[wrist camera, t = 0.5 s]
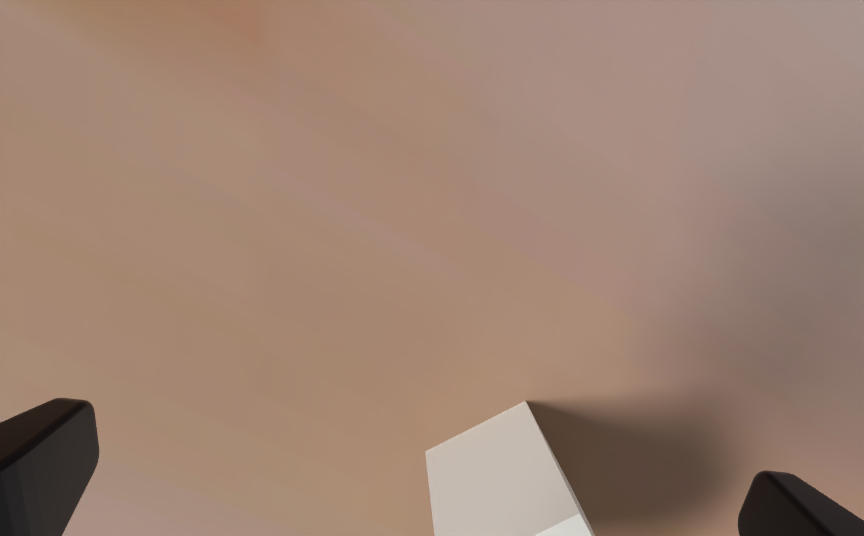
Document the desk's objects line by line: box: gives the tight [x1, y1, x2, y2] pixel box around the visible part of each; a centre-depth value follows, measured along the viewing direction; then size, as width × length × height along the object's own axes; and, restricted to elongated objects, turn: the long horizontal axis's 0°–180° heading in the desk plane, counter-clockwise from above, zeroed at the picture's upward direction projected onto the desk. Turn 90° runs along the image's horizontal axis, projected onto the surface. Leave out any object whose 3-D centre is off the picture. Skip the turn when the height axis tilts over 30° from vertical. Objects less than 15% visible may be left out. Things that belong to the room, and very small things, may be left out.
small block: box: [425, 401, 595, 536], centre depth 21 cm, size 4×4×7 cm
